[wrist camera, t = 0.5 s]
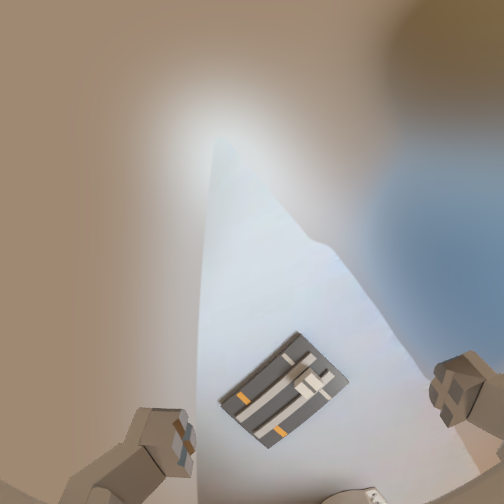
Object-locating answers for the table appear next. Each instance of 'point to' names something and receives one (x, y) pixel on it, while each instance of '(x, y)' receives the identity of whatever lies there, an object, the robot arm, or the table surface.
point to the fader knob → (308, 383)
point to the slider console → (283, 393)
